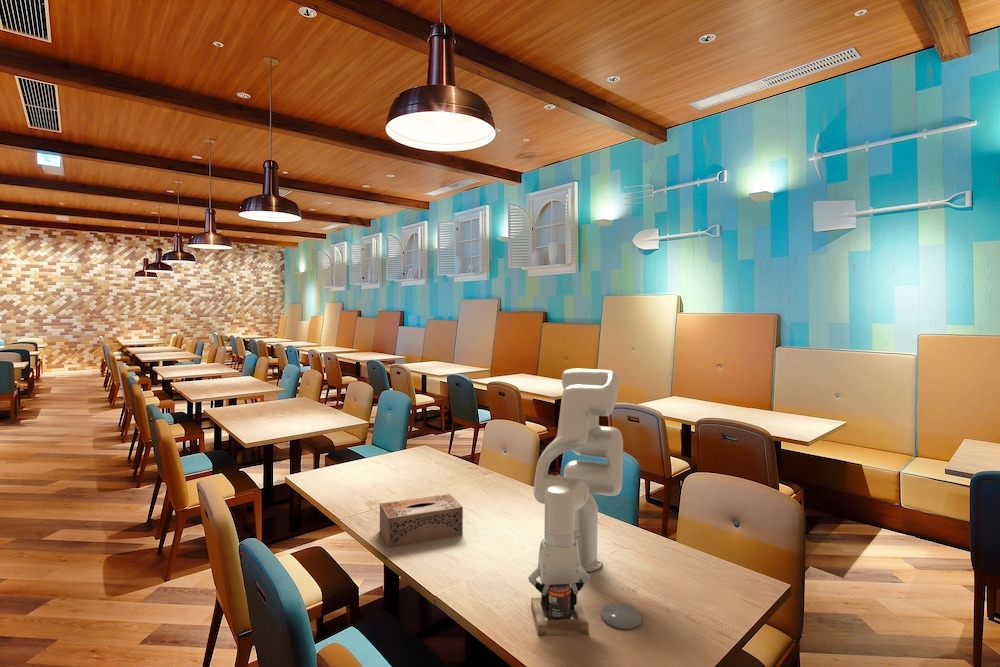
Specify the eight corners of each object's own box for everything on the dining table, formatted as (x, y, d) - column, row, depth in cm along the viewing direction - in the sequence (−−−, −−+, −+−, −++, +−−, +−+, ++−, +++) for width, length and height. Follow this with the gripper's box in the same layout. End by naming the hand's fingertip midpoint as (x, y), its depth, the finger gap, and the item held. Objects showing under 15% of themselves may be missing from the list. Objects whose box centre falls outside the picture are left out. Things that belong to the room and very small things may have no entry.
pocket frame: (531, 607, 132) (531, 597, 132) (576, 605, 133) (576, 596, 133) (538, 636, 120) (538, 625, 120) (588, 633, 121) (588, 623, 121)
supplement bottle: (568, 612, 130) (569, 568, 130) (572, 626, 124) (573, 581, 124) (545, 612, 130) (545, 568, 129) (548, 626, 124) (548, 581, 123)
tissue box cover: (388, 548, 165) (388, 518, 165) (379, 531, 179) (379, 503, 178) (462, 535, 176) (462, 507, 176) (449, 520, 189) (449, 493, 189)
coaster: (596, 606, 133) (596, 603, 132) (633, 605, 133) (633, 602, 133) (607, 630, 123) (607, 627, 123) (647, 628, 123) (647, 625, 123)
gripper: (589, 529, 131) (588, 598, 131) (523, 531, 129) (522, 600, 130) (597, 542, 123) (596, 615, 124) (527, 544, 122) (526, 618, 122)
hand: (558, 607), depth 127 cm, fingers closed on supplement bottle, 6 cm apart
